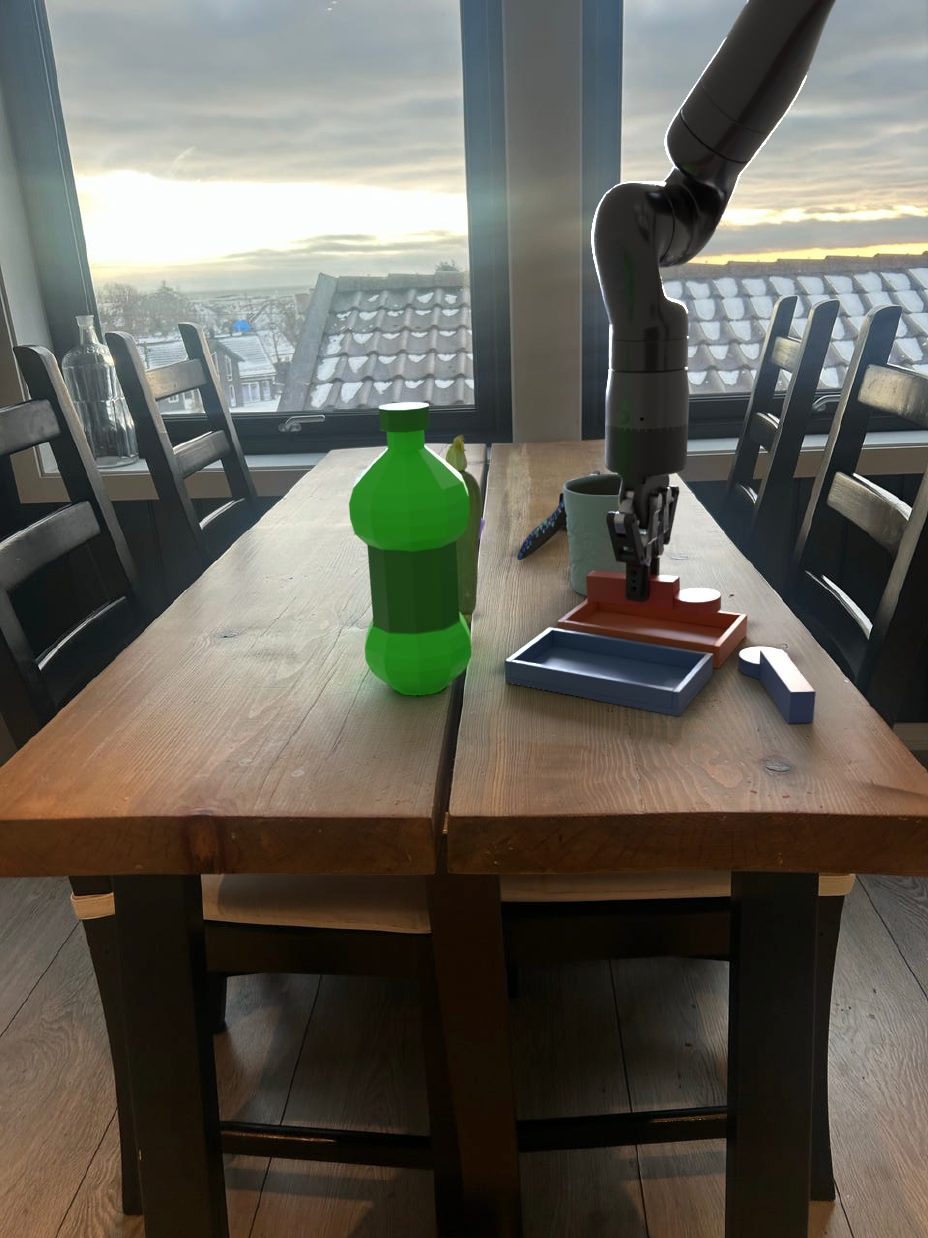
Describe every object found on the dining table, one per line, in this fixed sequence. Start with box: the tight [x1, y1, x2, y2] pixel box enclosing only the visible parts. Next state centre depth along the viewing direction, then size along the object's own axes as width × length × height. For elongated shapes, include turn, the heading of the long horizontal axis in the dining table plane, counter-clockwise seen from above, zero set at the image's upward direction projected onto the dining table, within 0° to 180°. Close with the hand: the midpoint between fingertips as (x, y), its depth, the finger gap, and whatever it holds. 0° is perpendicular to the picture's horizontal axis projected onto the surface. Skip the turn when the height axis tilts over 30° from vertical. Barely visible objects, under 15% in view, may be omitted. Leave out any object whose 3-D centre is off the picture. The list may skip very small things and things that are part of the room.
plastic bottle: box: [348, 401, 472, 697], centre depth 87 cm, size 10×10×25 cm
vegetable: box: [445, 434, 483, 625], centre depth 101 cm, size 4×4×20 cm
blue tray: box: [504, 627, 714, 717], centre depth 90 cm, size 16×9×2 cm, turn 60°
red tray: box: [557, 598, 748, 669], centre depth 99 cm, size 16×9×2 cm, turn 60°
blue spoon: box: [737, 646, 817, 725], centre depth 86 cm, size 13×4×3 cm, turn 0°
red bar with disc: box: [586, 570, 722, 616], centre depth 97 cm, size 13×4×3 cm, turn 60°
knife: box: [516, 470, 601, 561], centre depth 136 cm, size 31×3×4 cm, turn 151°
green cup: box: [562, 473, 626, 597], centre depth 112 cm, size 10×10×12 cm
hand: (642, 595), depth 98 cm, fingers closed on red bar with disc, 2 cm apart
